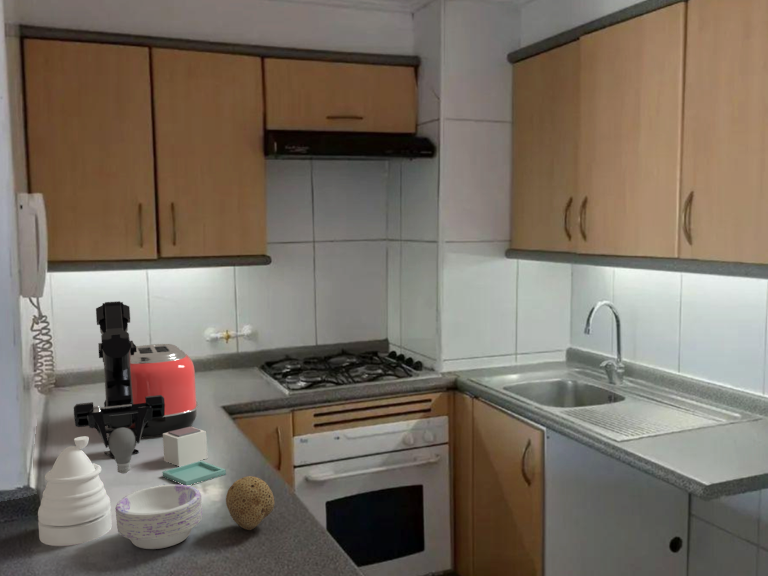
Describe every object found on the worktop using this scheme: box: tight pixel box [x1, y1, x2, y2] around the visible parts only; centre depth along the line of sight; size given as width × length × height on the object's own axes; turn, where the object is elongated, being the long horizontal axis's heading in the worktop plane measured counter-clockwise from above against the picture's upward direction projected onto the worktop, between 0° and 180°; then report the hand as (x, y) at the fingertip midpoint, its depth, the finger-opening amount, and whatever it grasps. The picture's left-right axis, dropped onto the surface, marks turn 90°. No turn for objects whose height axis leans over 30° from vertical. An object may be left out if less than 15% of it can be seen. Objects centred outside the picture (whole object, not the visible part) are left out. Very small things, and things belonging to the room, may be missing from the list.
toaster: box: [130, 343, 199, 439], centre depth 214 cm, size 32×23×23 cm
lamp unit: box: [162, 426, 208, 467], centre depth 180 cm, size 7×8×7 cm
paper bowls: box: [115, 484, 203, 550], centre depth 134 cm, size 15×15×8 cm
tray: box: [162, 460, 227, 486], centre depth 169 cm, size 10×10×1 cm
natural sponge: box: [225, 475, 275, 531], centre depth 138 cm, size 9×9×10 cm
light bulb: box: [107, 427, 138, 475], centre depth 156 cm, size 6×6×10 cm
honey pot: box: [37, 435, 113, 547], centre depth 138 cm, size 13×13×18 cm
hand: (122, 444), depth 155 cm, fingers closed on light bulb, 6 cm apart
